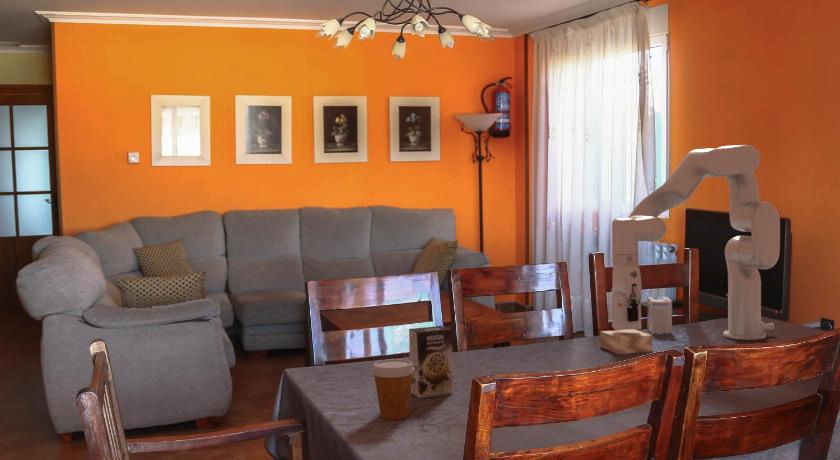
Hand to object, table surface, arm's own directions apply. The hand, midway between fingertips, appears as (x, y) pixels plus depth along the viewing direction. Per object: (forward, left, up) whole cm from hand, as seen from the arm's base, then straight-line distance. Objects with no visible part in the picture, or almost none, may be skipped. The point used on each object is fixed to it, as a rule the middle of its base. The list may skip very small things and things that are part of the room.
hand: (626, 318), depth 251 cm
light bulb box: (-23, -20, -9) cm, 32 cm away
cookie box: (+68, +28, -9) cm, 74 cm away
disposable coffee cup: (+81, +44, -9) cm, 93 cm away
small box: (0, 0, -3) cm, 3 cm away
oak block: (0, 0, -9) cm, 9 cm away
